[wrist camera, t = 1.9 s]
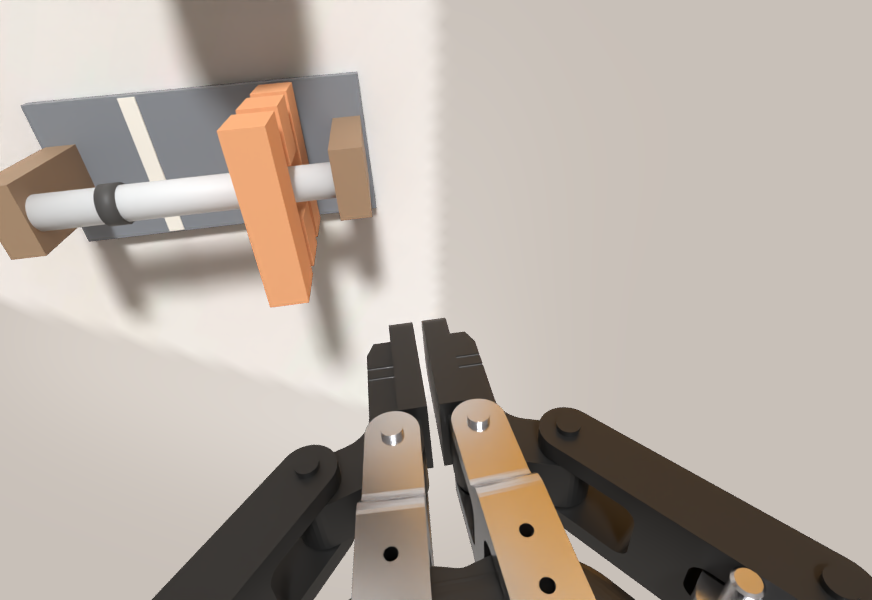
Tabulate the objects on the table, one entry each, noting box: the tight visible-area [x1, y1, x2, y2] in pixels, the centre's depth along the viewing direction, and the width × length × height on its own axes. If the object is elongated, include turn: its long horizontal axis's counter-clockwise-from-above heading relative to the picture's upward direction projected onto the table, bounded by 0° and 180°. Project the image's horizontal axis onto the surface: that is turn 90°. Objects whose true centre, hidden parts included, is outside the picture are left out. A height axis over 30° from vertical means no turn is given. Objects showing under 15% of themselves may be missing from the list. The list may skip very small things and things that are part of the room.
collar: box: [217, 82, 320, 307], centre depth 28 cm, size 2×9×11 cm, turn 4°
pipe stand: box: [0, 72, 376, 260], centre depth 30 cm, size 20×9×8 cm, turn 94°
